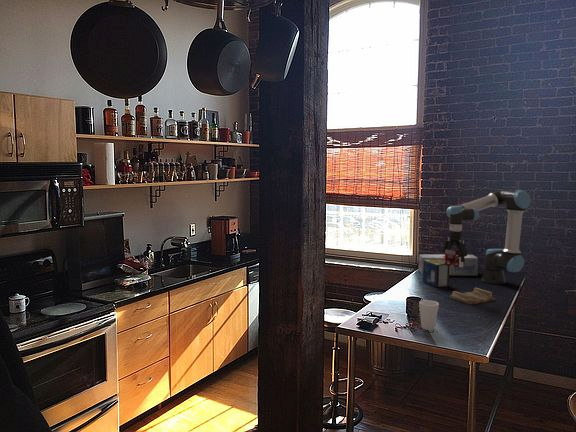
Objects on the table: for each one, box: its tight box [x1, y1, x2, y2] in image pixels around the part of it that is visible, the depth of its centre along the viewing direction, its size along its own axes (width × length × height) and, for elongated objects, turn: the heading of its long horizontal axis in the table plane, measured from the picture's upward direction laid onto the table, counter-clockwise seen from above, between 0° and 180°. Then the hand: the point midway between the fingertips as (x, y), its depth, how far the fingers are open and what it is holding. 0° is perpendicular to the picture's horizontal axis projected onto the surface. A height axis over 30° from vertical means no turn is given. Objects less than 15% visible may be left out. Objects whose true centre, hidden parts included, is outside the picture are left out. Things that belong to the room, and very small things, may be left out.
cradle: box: [449, 287, 495, 305], centre depth 295 cm, size 20×16×4 cm
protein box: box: [422, 259, 450, 288], centre depth 330 cm, size 10×15×16 cm
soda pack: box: [418, 253, 479, 277], centre depth 360 cm, size 41×13×14 cm, turn 86°
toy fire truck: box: [444, 249, 465, 267], centre depth 306 cm, size 7×12×10 cm, turn 54°
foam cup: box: [418, 299, 440, 331], centre depth 243 cm, size 10×9×13 cm
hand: (454, 265), depth 306 cm, fingers closed on toy fire truck, 11 cm apart
